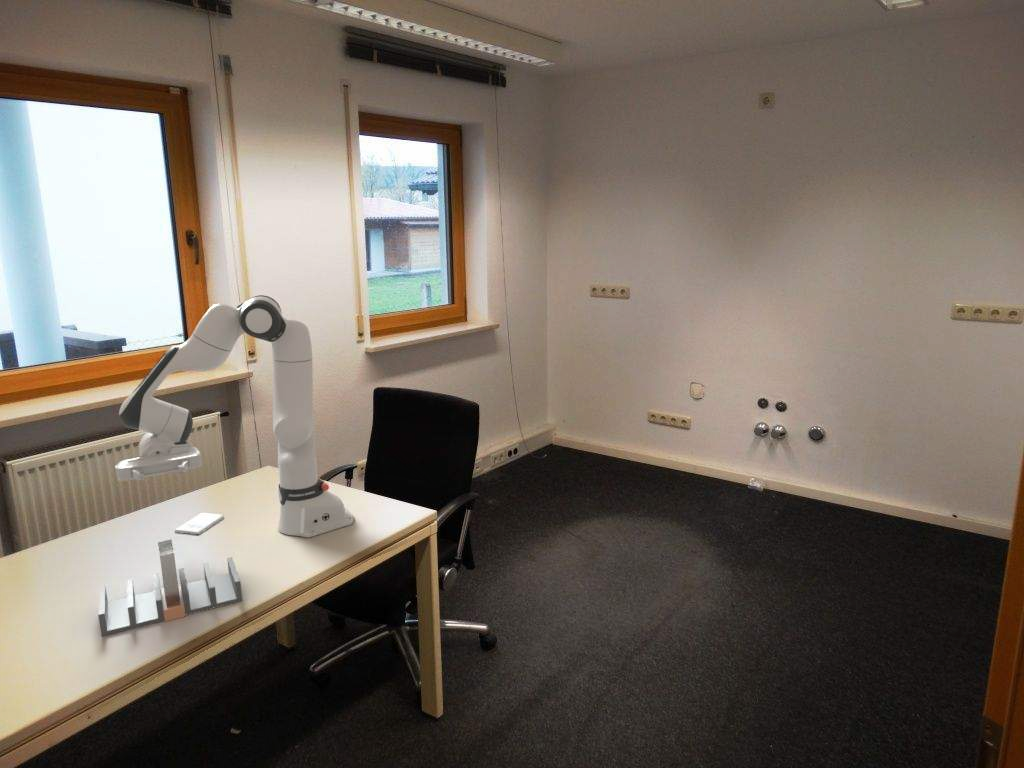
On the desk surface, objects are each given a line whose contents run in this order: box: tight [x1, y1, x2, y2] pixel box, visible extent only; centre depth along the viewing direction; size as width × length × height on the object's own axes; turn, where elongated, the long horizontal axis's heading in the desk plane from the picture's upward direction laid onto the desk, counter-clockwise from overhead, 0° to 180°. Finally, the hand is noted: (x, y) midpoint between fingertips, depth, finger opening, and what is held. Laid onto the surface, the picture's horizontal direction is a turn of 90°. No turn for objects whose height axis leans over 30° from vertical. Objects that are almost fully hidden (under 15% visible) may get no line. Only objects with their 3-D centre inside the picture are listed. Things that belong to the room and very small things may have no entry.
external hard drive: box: [174, 512, 225, 535], centre depth 211 cm, size 2×8×12 cm
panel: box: [157, 539, 181, 608], centre depth 166 cm, size 3×8×14 cm, turn 30°
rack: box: [97, 556, 243, 637], centre depth 167 cm, size 30×15×6 cm, turn 120°
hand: (161, 473), depth 174 cm, fingers open, 8 cm apart
